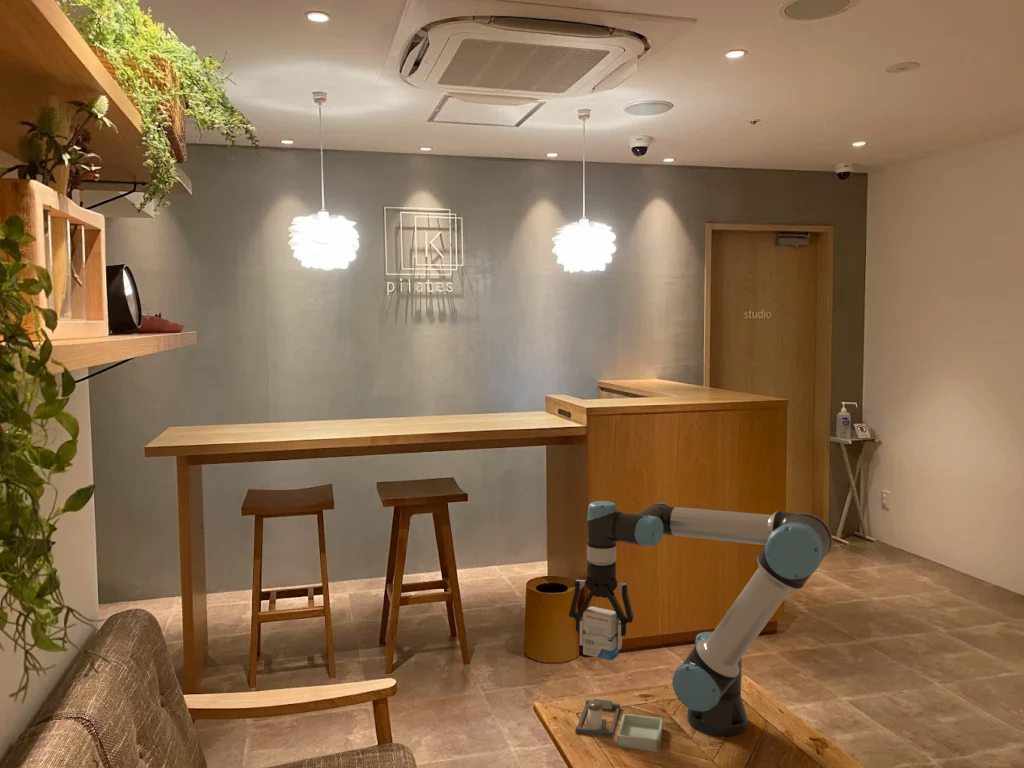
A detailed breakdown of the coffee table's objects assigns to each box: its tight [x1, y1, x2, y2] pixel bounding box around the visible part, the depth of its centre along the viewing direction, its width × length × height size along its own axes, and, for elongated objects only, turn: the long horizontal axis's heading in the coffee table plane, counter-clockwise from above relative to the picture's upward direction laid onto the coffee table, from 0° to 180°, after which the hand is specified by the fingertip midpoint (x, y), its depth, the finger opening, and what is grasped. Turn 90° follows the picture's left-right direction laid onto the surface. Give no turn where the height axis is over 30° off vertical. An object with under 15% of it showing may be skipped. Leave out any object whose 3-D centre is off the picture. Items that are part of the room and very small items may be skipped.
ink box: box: [582, 605, 620, 661], centre depth 215 cm, size 9×5×12 cm, turn 57°
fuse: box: [587, 700, 603, 730], centre depth 209 cm, size 4×4×7 cm
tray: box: [616, 712, 664, 753], centre depth 206 cm, size 10×12×3 cm
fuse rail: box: [575, 697, 621, 739], centre depth 215 cm, size 9×16×2 cm, turn 165°
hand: (600, 645), depth 216 cm, fingers closed on ink box, 9 cm apart
